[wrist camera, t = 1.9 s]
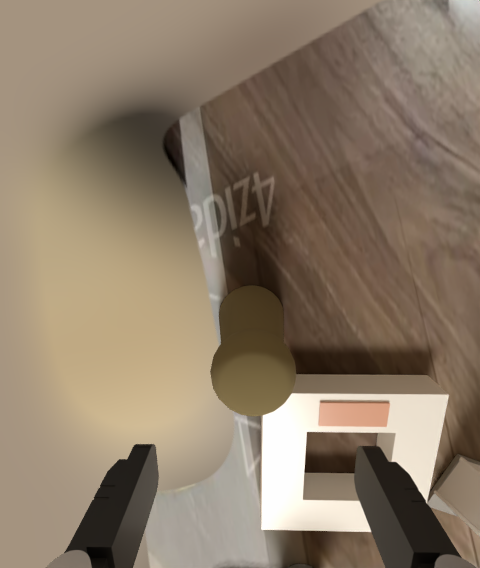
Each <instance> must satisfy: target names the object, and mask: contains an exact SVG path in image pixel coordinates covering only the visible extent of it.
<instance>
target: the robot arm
mask: <svg viewBox="0 0 480 568" xmlns="http://www.w3.org/2000/svg"><path fill="white" fill-rule="evenodd" d="M354 483H355V489H356V493H357V496H358V499H359V501H360V504H361V506H362V509H363V511H364V514H365V517H366V519H367V522H368V524H369V527H370V529H371V532H372V534H373V537H374V539H375V542H376V545H377V547H378V550H379V552H380V555H381V557H382V560H383V562H384V565H385V568H476V567H475V566H474V565H472V564H471V563H469V562H468V561H466V560H464V559H463V558H462V557H461V556H460V555H459V553H458V552H457V550H456V548H455V547H454V545H453V544H452V542H451V540H450V539H449V537H448V536H447V534H446V532H445V531H444V529H443V528H442V526H441V524H440V523H439V521H438V519H437V518H436V516H435V515H434V513H433V511H432V510H431V508H430V507H429V505H428V504H427V503H426V500H425V499H424V497H423V495H422V494H421V492H419V490H418V487H417V486H416V484H415V482H414V481H413V479H412V478H411V476H410V474H409V473H408V472H406V471H405V470H404V469H403V468H402V467H401V466H400V465H399V464H398V463H397V462H389V461H388V460H387V458H386V456H385V454H384V453H383V451H382V449H381V448H380V447H379V446H358V448H357V456H356V465H355V474H354ZM157 487H158V465H157V455H156V447H155V445H154V444H136V445H134V447H133V449H132V451H131V453H130V455H129V457H128V459H127V460H125V459H122V460H121V459H119V460H118V461H117V462H116V463H115V464H114V466H112V468H111V469H110V470H109V471H108V472H107V474H106V476H105V477H104V480H103V481H102V483H101V485H100V488H99V489H98V491H97V493H96V495H95V497H94V500H92V502H91V504H90V506H89V508H88V510H87V512H86V514H85V516H84V518H83V519H82V521H81V523H80V525H79V527H78V529H77V531H76V533H75V535H74V537H73V539H72V540H71V543H70V544H69V546H68V548H67V550H66V551H65V552H64V554H62V555H60V556H59V557H57V558H56V559H54V560H53V561H52V562H51V563H50V564H49V565H48V566H47V567H46V568H133V565H134V562H135V559H136V556H137V553H138V550H139V546H140V543H141V540H142V537H143V534H144V530H145V527H146V524H147V521H148V518H149V514H150V511H151V508H152V505H153V502H154V498H155V495H156V492H157Z"/></svg>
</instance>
